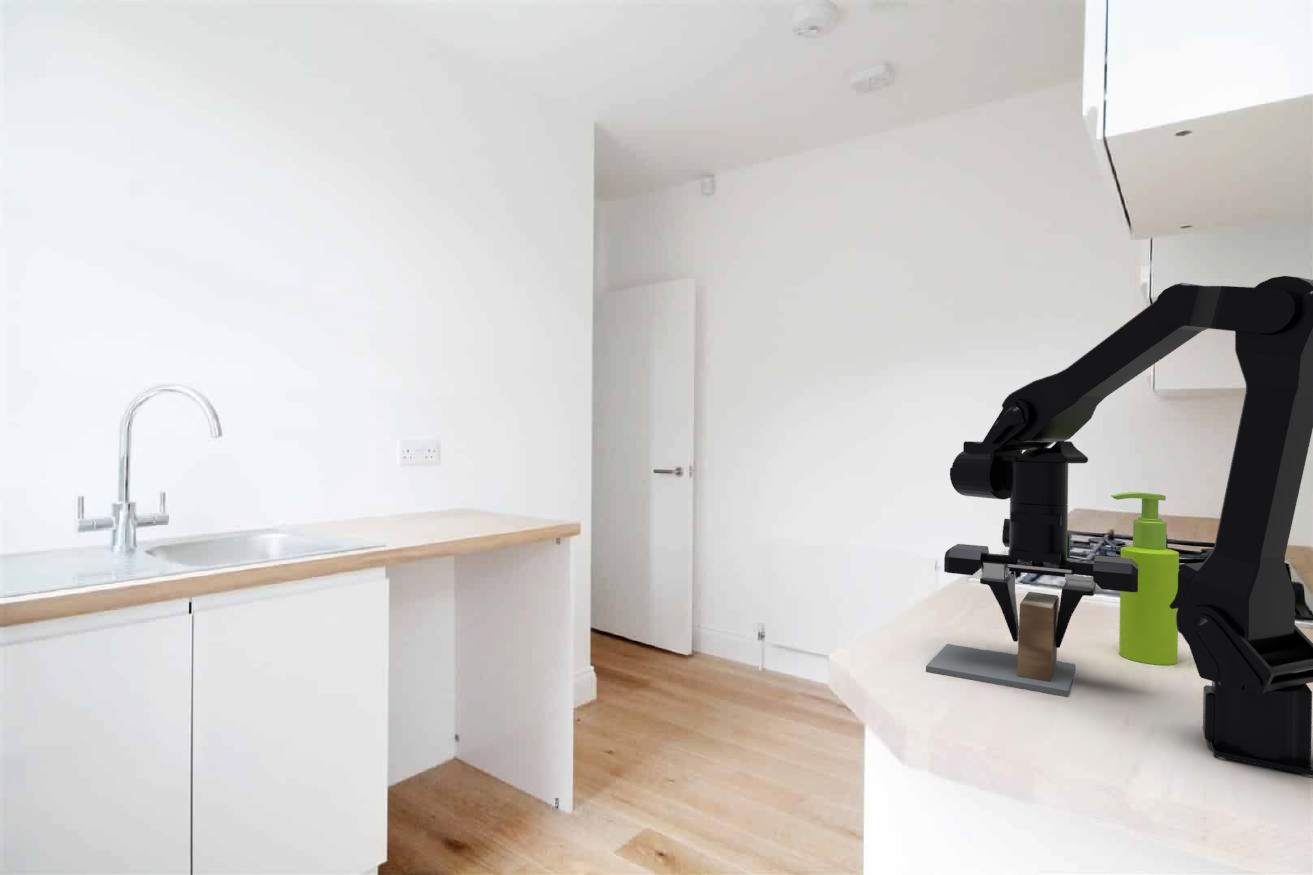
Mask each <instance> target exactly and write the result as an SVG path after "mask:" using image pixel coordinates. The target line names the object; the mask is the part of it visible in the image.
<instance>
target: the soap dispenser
mask: <svg viewBox="0 0 1313 875" xmlns="http://www.w3.org/2000/svg"><path fill="white" fill-rule="evenodd" d="M1111 497H1112V498H1113V499H1115V500H1118V501H1119V500H1125V499H1141V517H1138V518H1137V519H1134V520H1133V522H1132V524H1133V525H1132V526H1133V527H1132V545H1127V546H1122V547H1121V548H1120V558H1132V559H1133V560H1134V561H1135V562H1136V563H1137V564H1138V592H1124V591H1119V639H1118V640H1119V642H1118V643H1119V644H1118V646H1119V647H1118V650H1119V651H1118V653H1119V654H1118V655H1120V656H1121V657H1122V658H1124V659H1128V660H1131V661H1134V662H1139V663H1142V664H1150V665H1158V666H1172V665H1176V664H1177V663H1178V651H1179V650H1178V645H1179V644H1178V642H1179V640H1178V638H1179V636H1178V635H1179V632H1178V629H1177V625H1176V613H1177V610H1178V608H1176V609H1171V608H1170V604H1171V603H1172V602H1173V600H1174V599H1175V596H1176V594H1177V589H1178V572H1179V569H1180V564H1179V563H1180V553H1179V551H1176V550H1173V549H1170V548H1167V526H1168V524H1167V521H1163V520H1162V518H1159V501H1166V500H1167V498H1166V495H1164V494H1159V493H1151V492H1150V493H1149V492H1148V493H1147V492H1139V491H1138V492H1137V491H1135V492H1133V491H1132V492H1129V491H1128V492H1121V493H1116V494H1111Z"/></svg>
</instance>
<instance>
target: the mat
mask: <svg viewBox="0 0 1313 875" xmlns="http://www.w3.org/2000/svg"><path fill="white" fill-rule="evenodd" d="M1017 663H1018V654H1014V653H1008V652H1002V651H997V650H996V651H995V650H988V649H982V648H976V647H971V646H970V647H969V646H963V645H958V644H957V645H956V644H950V643H946V645H944V646H943V647H942V648H941V650H940V651H939V652H938V653H937V654H936V655H935V656H934V657H933V658H932V659H931V660H930V661H929V662H928V664H927V665H926V666H925V672H929V673H933V674H934V673H935V674H941V675H943V676H944V675H945V676H951V677H957V678H963V679H967V680H973V681H979V682H983V683H984V682H985V683H990V684H994V685H1000V686H1006V687H1012V688H1017V689H1023V690H1028V691H1033V692H1034V691H1035V692H1039V693H1040V692H1041V693H1046V694H1051V695H1057V696H1062V697H1068V698H1069V694H1070V690H1071V687H1072V683H1073V679H1074V676H1075V672H1076V663H1074V662H1073V663H1071V662H1065V661H1059V660H1057V663H1056V668H1055V671H1054V673H1053V676H1052V679H1051V682H1047V681H1042V680H1037V679H1031V678H1026V677H1021V676H1017Z"/></svg>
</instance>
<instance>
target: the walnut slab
mask: <svg viewBox="0 0 1313 875" xmlns="http://www.w3.org/2000/svg"><path fill="white" fill-rule="evenodd" d="M1059 607H1060V597H1059V595H1058V594H1050V593H1049V594H1048V593H1042V592H1034V591H1028V592H1027V593H1026V594H1025V596H1024V597H1023V599H1022V600H1021V602H1020V603H1019V613H1018V615H1019V616H1018V623H1019V636H1018V641H1017V643H1018V644H1017V655H1018V663H1017V676H1021V677H1026V678H1031V679H1037V680H1042V681H1047V682H1051V679H1052V676H1053V673H1054V671H1055V668H1056V663H1057V661H1058V658H1057V656H1058V648H1056V645H1055V633H1056V627H1057V620H1058V613H1059Z"/></svg>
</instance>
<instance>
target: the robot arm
mask: <svg viewBox="0 0 1313 875" xmlns="http://www.w3.org/2000/svg"><path fill="white" fill-rule="evenodd" d="M1209 329H1210V330H1220V331H1229V332H1235V333H1234V336H1235V337H1234V339H1235V340H1234V342H1235V344H1234V346H1235V348H1234V349H1235V355H1236V358H1237V360H1238V361H1237V362H1238V365H1239V368H1240V371H1241V373H1242V376H1243V379H1244V382H1245V394H1244V398H1243V399H1244V400H1243V403H1242V404H1243V405H1242V408H1241V409H1242V410H1241V414H1240V419H1239V424H1238V428H1237V433H1236V439H1235V444H1234V448H1233V453H1232V459H1231V464H1230V468H1229V473H1228V477H1227V478H1228V479H1227V483H1226V489H1225V493H1224V497H1223V503H1222V508H1221V512H1220V517H1219V522H1218V527H1217V531H1216V532H1217V533H1216V537H1215V542H1214V546H1213V549H1212V551H1211V552H1210V554H1209V555H1208V556H1207V557H1206V559H1205V560H1204V561H1203V562H1196V563H1195V562H1194V563H1182V564H1181V565H1179V572H1178V589H1177V594H1176V596H1175V599H1174V600H1173V602H1172V603H1171V604H1170V608H1171V609H1176V608H1178V610H1177V613H1176V625H1177V629H1178V634H1181V635H1182V637H1183V639H1184V640H1185V642H1186V644H1187V645H1188V646H1189V650H1190V653H1191V656H1192V658H1193V662H1194V665H1195V667H1196V670H1197V673H1198V676H1199V677H1200V678H1201V679H1203V680H1207V681H1211V685H1208V684H1206V685H1204V686H1203V687H1202V688H1203V689H1202V690H1203V692H1202V694H1203V696H1202V699H1203V700H1202V733H1203V737H1204V740H1206V741H1207V742H1209V743H1210V746H1211V751H1212V753H1213V755H1214V756H1216V757H1219V758H1222V759H1223V758H1224V759H1227V760H1232V761H1237V762H1238V761H1239V762H1242V763H1243V762H1244V763H1248V764H1253V765H1257V766H1259V765H1260V766H1263V767H1269V768H1273V769H1279V770H1283V771H1288V772H1293V773H1297V774H1298V773H1299V774H1304V775H1309V776H1313V760H1312V736H1313V735H1312V731H1313V730H1312V727H1313V726H1312V723H1313V720H1312V719H1313V691H1312V690H1311V688H1310V687H1309V686H1308V685H1307V684H1311V683H1313V642H1312V641H1311V640H1310V639H1309V638H1308V637H1307V636H1306V635H1305V634H1304V633H1303V631H1302V630H1301V629H1300V628H1299V627H1297V625H1296V624H1295V623H1296V618H1295V617H1296V594H1295V589H1294V587H1293V584H1292V581H1291V579H1290V576H1289V573H1288V569H1287V566H1286V553H1287V547H1288V543H1289V541H1290V540H1289V539H1290V535H1291V531H1292V530H1291V529H1292V525H1293V522H1294V516H1295V512H1296V507H1297V504H1298V500H1299V498H1298V497H1299V494H1300V490H1301V484H1302V479H1303V474H1304V471H1305V467H1306V463H1307V462H1306V461H1307V457H1308V452H1309V448H1310V442H1311V438H1312V434H1313V279H1311V278H1310V279H1309V278H1304V277H1298V276H1291V275H1282V276H1275V277H1271V278H1268V279H1267V280H1264V281H1262V282H1259V283H1258V284H1257V285H1256V286H1254V287H1253V286H1252V287H1251V286H1231V285H1199V284H1192V283H1188V282H1181V283H1176V284H1173V285H1171V286H1168V287H1167V288H1165V289H1163V291H1161V293H1159V295H1158V296H1157V298H1156V300H1155V301H1153V302H1152V303H1151V304H1149V305H1148V306H1147V307H1146V308H1144V309H1143V310H1141V311H1140V312H1139V313H1137V314H1136V315H1135V316H1133V317H1132V318H1131V319H1130V320H1128V321H1127V322H1126V323H1125V324H1123V325H1122V326H1120V327H1119V328H1118V329H1117V330H1115V331H1114V332H1113V333H1110V335H1108V336H1107V337H1106V338H1105V339H1103V340H1102V341H1101V342H1099V343H1098V344H1097V345H1095V346H1094V347H1093V348H1091V349H1090V350H1089V351H1088V352H1087V353H1085V354H1083V355H1082V356H1080V358H1078V359H1077V360H1075V361H1074V362H1073V363H1071V364H1070V365H1069V366H1068V367H1067V368H1065V369H1063V370H1061V371H1059V372H1057V373H1054V374H1051V375H1048V376H1045V377H1042V378H1039V379H1036V380H1034V381H1031V382H1029V383H1028V384H1025V385H1024V386H1022V387H1019V389H1016V390H1015V391H1013V392H1011V393H1009V394H1008V396H1007V397H1006V398H1004V400H1003V402H1002V403H1001V407H1002V408H1001V409H1002V410H1001V411H1000V413H999V414H998V416H997V418H996V419H995V421H994V422H993V424H992V426H991V427H990V428H989V431H988V432H987V434H986V435H985V436H984V438H983V440H982V441H970V440H969V441H968V440H967V441H966V440H965V441H963V445H962V446H963V449H962V450H963V451H961V452H960V453H958V454H957V455H956V457H955V458H954V460H953V462H952V465H951V467H950V469H949V476H950V477H949V478H950V479H949V480H950V483H951V485H952V487H953V489H954V490H955V491H956V492H957V493H958V494H960V495H962V496H965V497H974V498H984V499H993V500H994V499H995V500H1007V499H1009V518H1004V520H1003V526H1002V535H1001V541H1002V544H1003V546H1004V547H1005V548H1009V554H1001V553H1000V554H999V553H990V550H989V546H988V545H975V544H965V543H957V544H955V545H953V546H952V547H950V548H948V549H947V550H946V551H945V554H944V559H943V560H944V565H943V567H944V571H943V572H944V573H947V574H954V575H955V574H957V575H962V576H963V575H964V576H974V575H975V574H976V573H977V572H979V570H981V571H980V572H981V577H980V578H979V584H982V585H986V586H989V588H990V590H991V592H992V594H993V596H994V598H995V600H996V602H997V603H998V605H999V607H1000V609H1001V612H1002V615H1003V617H1004V621H1005V623H1006V625H1007V628H1008V631H1009V632H1010V635H1011V636H1010V637H1011V638H1012V641H1013V642H1014V643H1015V642H1016V643H1018V639H1019V616H1018V615H1019V613H1018V608H1017V607H1018V605H1017V597H1016V575H1015V573H1021V574H1032V575H1041V576H1051V577H1061V578H1064V581H1065V583H1064V584H1063V587H1062V589H1061V595H1060V599H1059V613H1058V620H1057V627H1056V633H1055V645H1056V648H1057V649H1060V647H1061V645H1062V642H1063V641H1064V640H1063V639H1064V637H1065V634H1066V632H1067V629H1068V626H1069V624H1070V620H1071V618H1072V616H1073V614H1074V612H1075V610H1076V608H1077V607H1078V605H1079V603H1080V601H1081V600H1082V598H1083V597H1084V596H1087V597H1094V596H1095V594H1096V589H1097V586H1098V587H1099V588H1100V589H1101V590H1105V591H1115V592H1120V591H1124V592H1138V564H1137V563H1136V562H1135V561H1134V560H1133V559H1132V558H1121V556H1120V557H1119V556H1105V555H1095V557H1094V559H1093V562H1092V561H1091V562H1090V561H1082V560H1081V561H1080V560H1068V559H1070V557H1071V556H1070V555H1071V536H1070V533H1069V530H1068V525H1069V524H1068V521H1069V520H1068V516H1069V514H1068V512H1069V505H1068V504H1069V501H1068V500H1069V464H1086V463H1088V462H1089V457H1087V455H1085V454H1084V453H1083V452H1082V451H1080V450H1079V449H1078V448H1077V447H1076V446H1075V445H1074V443H1073V442H1072V441H1068V440H1069V439H1071V438H1072V437H1073V436H1075V434H1077V433H1078V432H1079V431H1080V430H1081V429H1082V428H1083V427H1084V426H1085V425H1086V424H1087V423H1088V422H1089V421H1090V420H1091V419H1092V417H1093V416H1094V413H1095V411H1096V409H1097V407H1098V405H1099V404H1100V403H1101V402H1103V400H1104V399H1106V398H1107V397H1108V396H1110V395H1111V394H1112V393H1115V391H1117V390H1118V389H1120V388H1121V387H1123V386H1124V385H1125V384H1127V383H1128V382H1130V381H1131V380H1133V379H1135V378H1136V377H1138V376H1139V375H1141V374H1142V373H1143V372H1144V371H1146V370H1148V369H1149V368H1150V367H1152V366H1153V365H1155V364H1156V363H1158V362H1160V361H1161V360H1162V359H1164V358H1166V356H1168V355H1170V354H1171V353H1172V352H1174V351H1175V350H1177V349H1178V348H1180V347H1181V346H1183V345H1184V344H1186V343H1187V342H1189V341H1190V340H1191V339H1192V338H1194V337H1196V336H1197V335H1199V334H1200V333H1202V332H1203V331H1206V330H1209ZM1052 444H1053V445H1052ZM1051 445H1052V446H1051ZM1050 446H1051V447H1050ZM1011 573H1014V574H1011Z"/></svg>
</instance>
